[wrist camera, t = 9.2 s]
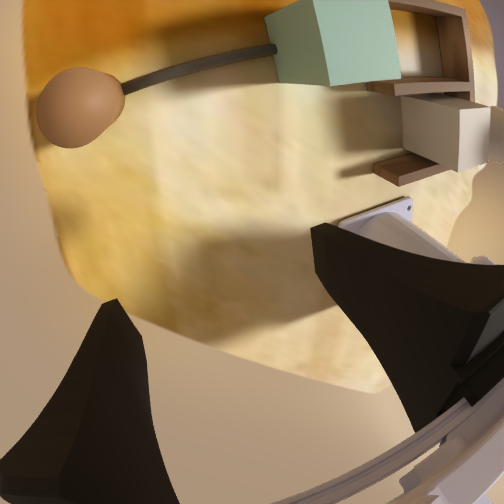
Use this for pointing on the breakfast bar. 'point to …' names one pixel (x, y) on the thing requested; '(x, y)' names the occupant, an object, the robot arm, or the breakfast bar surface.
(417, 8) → the walnut rack
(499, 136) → the salt shaker
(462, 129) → the grey block
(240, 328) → the breakfast bar surface
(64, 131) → the tethered block
